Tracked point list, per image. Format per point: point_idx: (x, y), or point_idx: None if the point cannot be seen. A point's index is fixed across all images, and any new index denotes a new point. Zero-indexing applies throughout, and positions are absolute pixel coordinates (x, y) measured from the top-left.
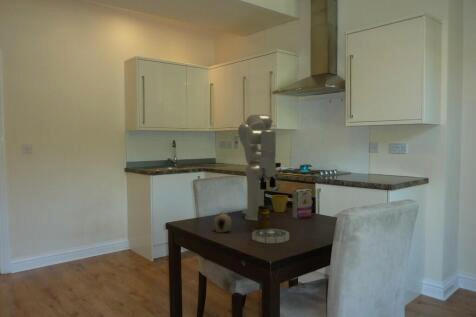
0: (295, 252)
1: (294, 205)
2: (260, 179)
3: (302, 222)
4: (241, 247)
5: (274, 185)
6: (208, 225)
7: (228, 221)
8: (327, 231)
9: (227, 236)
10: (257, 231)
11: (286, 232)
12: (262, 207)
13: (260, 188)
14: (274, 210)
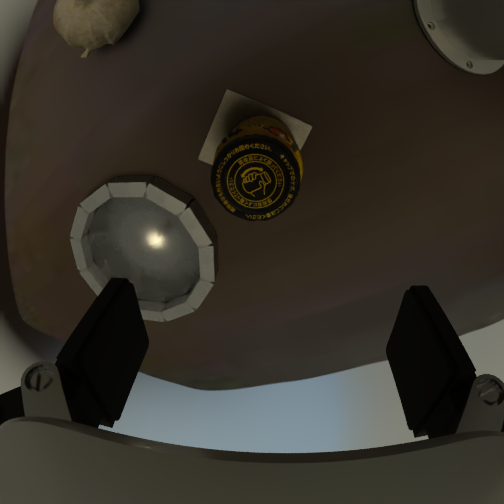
0: None
1: None
2: (12, 399)
3: (470, 251)
4: (18, 223)
5: (392, 368)
6: None
7: (79, 44)
8: (355, 363)
9: (63, 93)
10: (126, 196)
11: (187, 304)
12: (215, 191)
13: (110, 283)
14: None
